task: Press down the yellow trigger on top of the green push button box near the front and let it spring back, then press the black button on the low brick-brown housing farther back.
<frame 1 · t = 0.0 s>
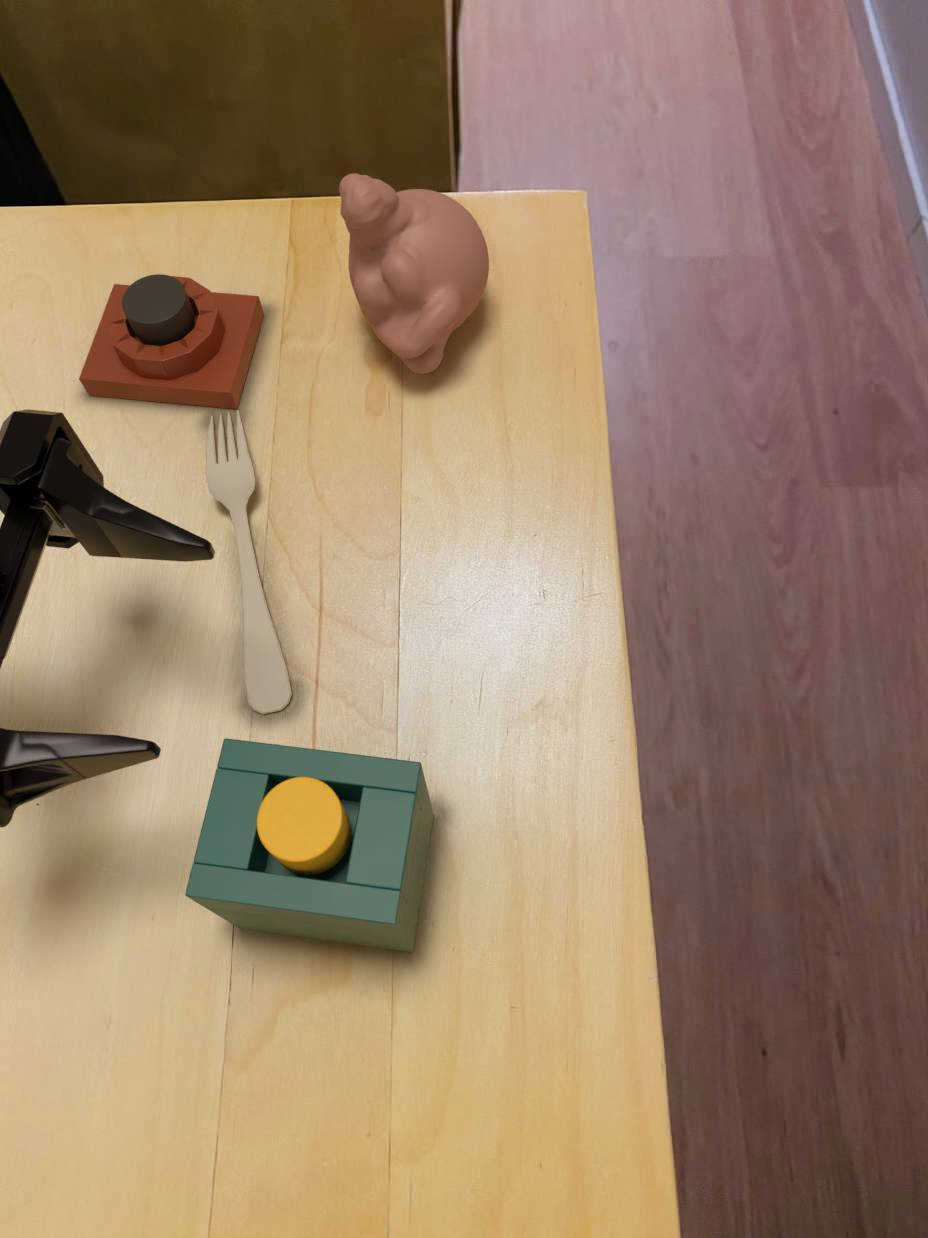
hand: (185, 645, 42), 14 cm above the table, tool horizontal, fingers open, 9 cm apart
fork: (248, 553, 60), on the table
trigger: (305, 826, 43), point 10 cm above the table, slide at 0.1 cm
figurine: (424, 329, 67), on the table
far button: (158, 309, 62), point 4 cm above the table, slide at 0.1 cm
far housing: (178, 353, 66), on the table
green push button box: (305, 827, 43), on the table
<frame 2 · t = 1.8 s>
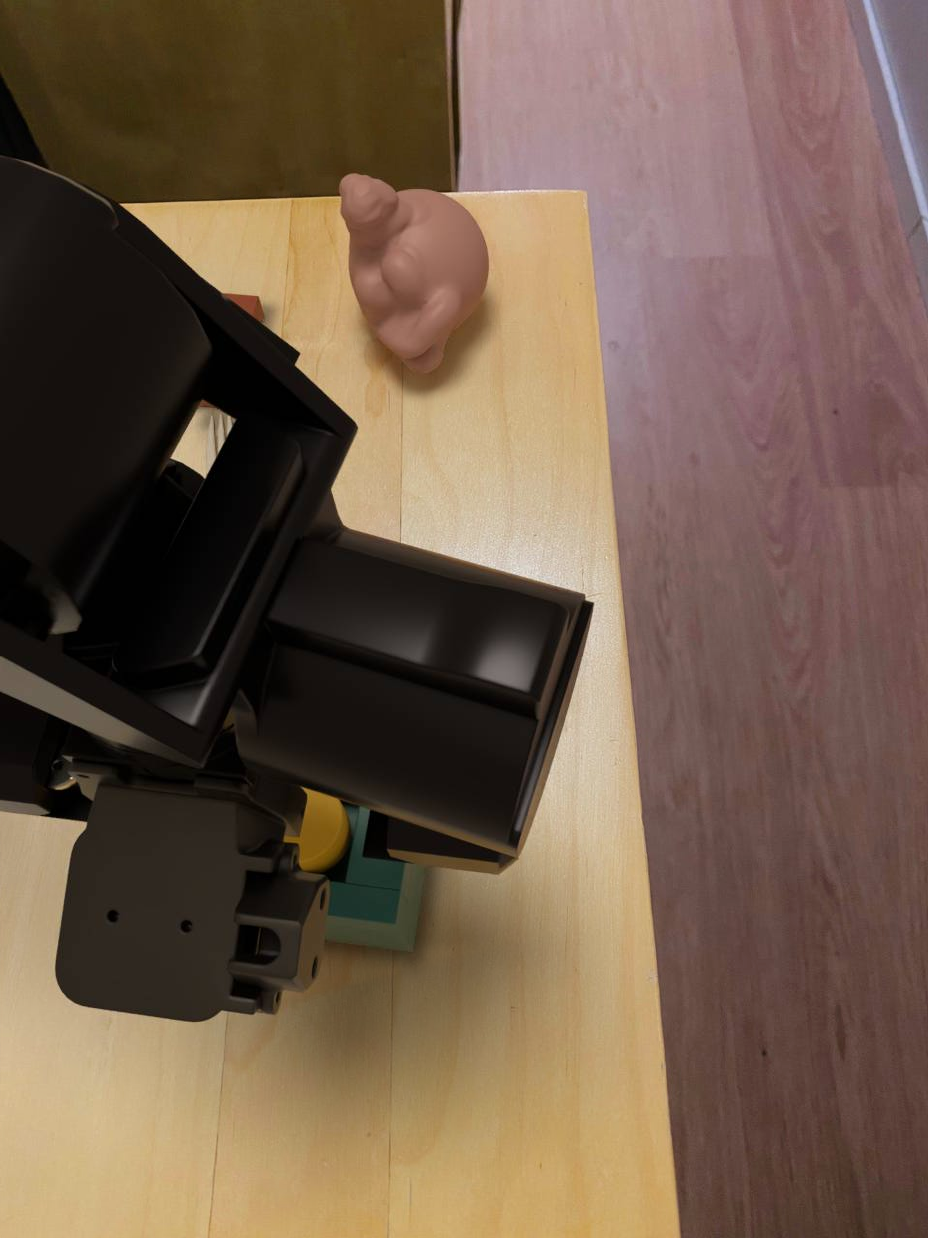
hand: (289, 804, 39), 13 cm above the table, tool pointing down, fingers open, 7 cm apart
nothing on the table moved.
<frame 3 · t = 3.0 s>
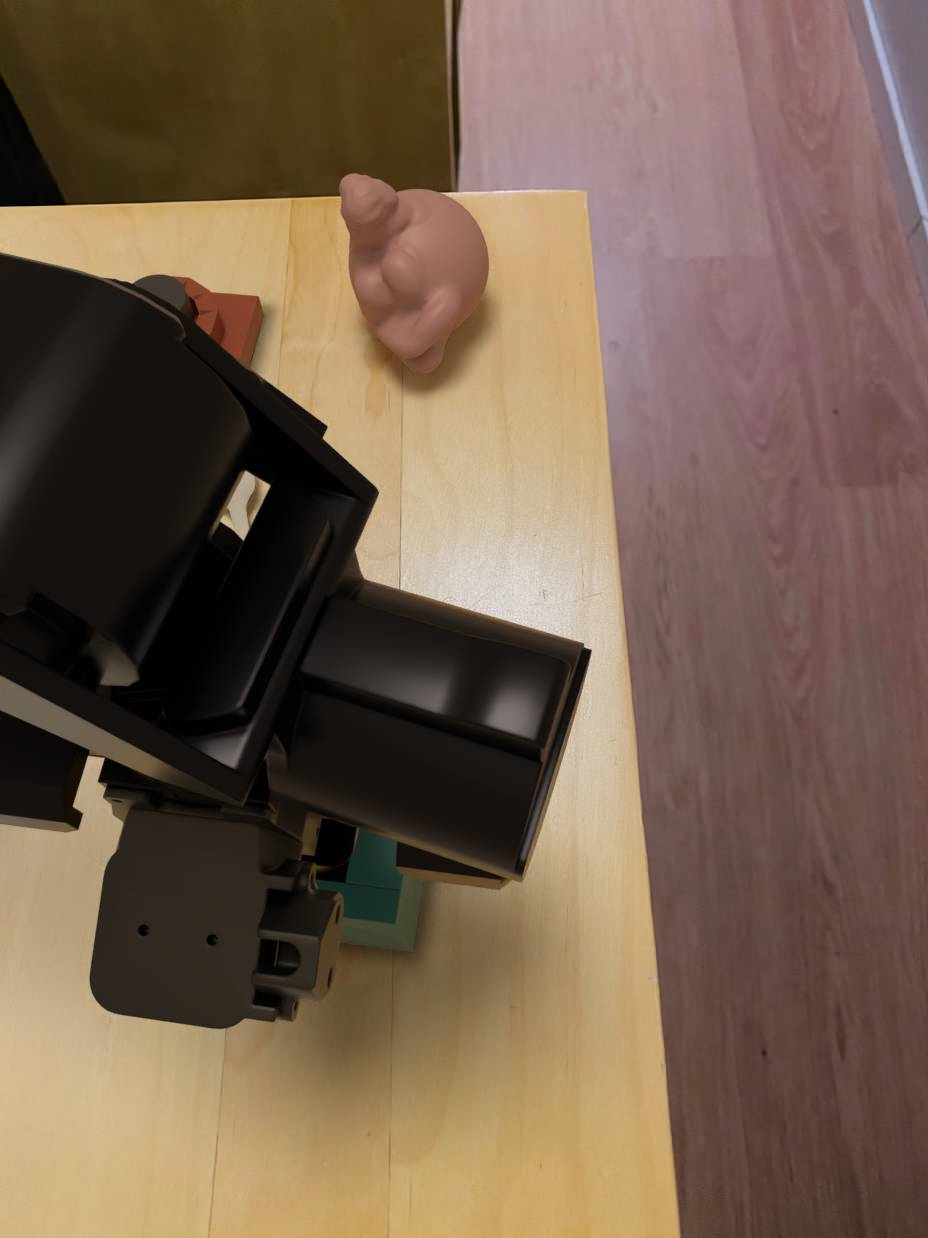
hand: (299, 818, 42), 11 cm above the table, tool pointing down, fingers closed, pressing on trigger
trigger: (306, 827, 43), point 9 cm above the table, slide at -0.1 cm, touching gripper
everything else where it was.
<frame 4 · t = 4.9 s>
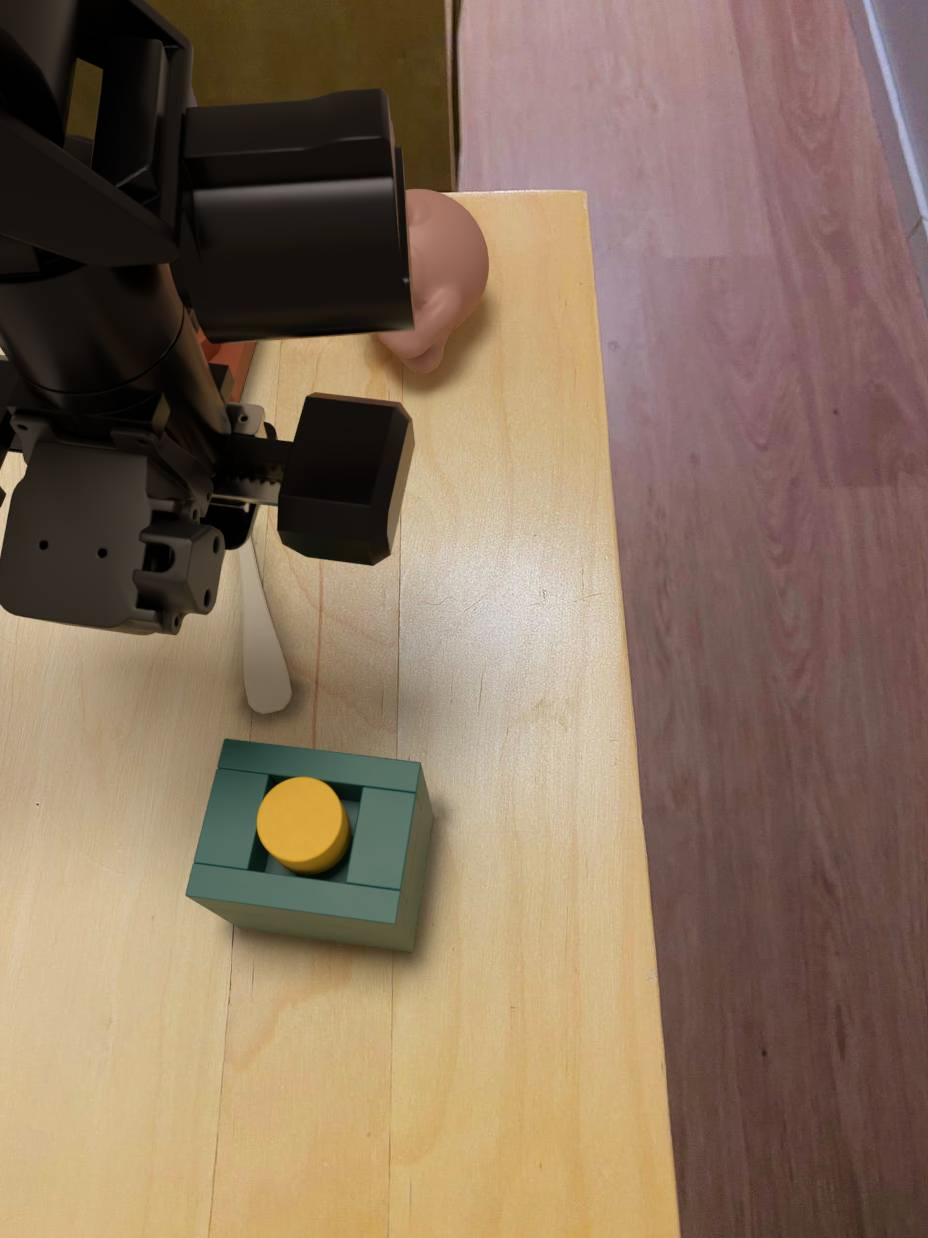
hand: (215, 558, 46), 12 cm above the table, tool pointing down, fingers closed
trigger: (305, 826, 43), point 10 cm above the table, slide at 0.1 cm
everything else where it was.
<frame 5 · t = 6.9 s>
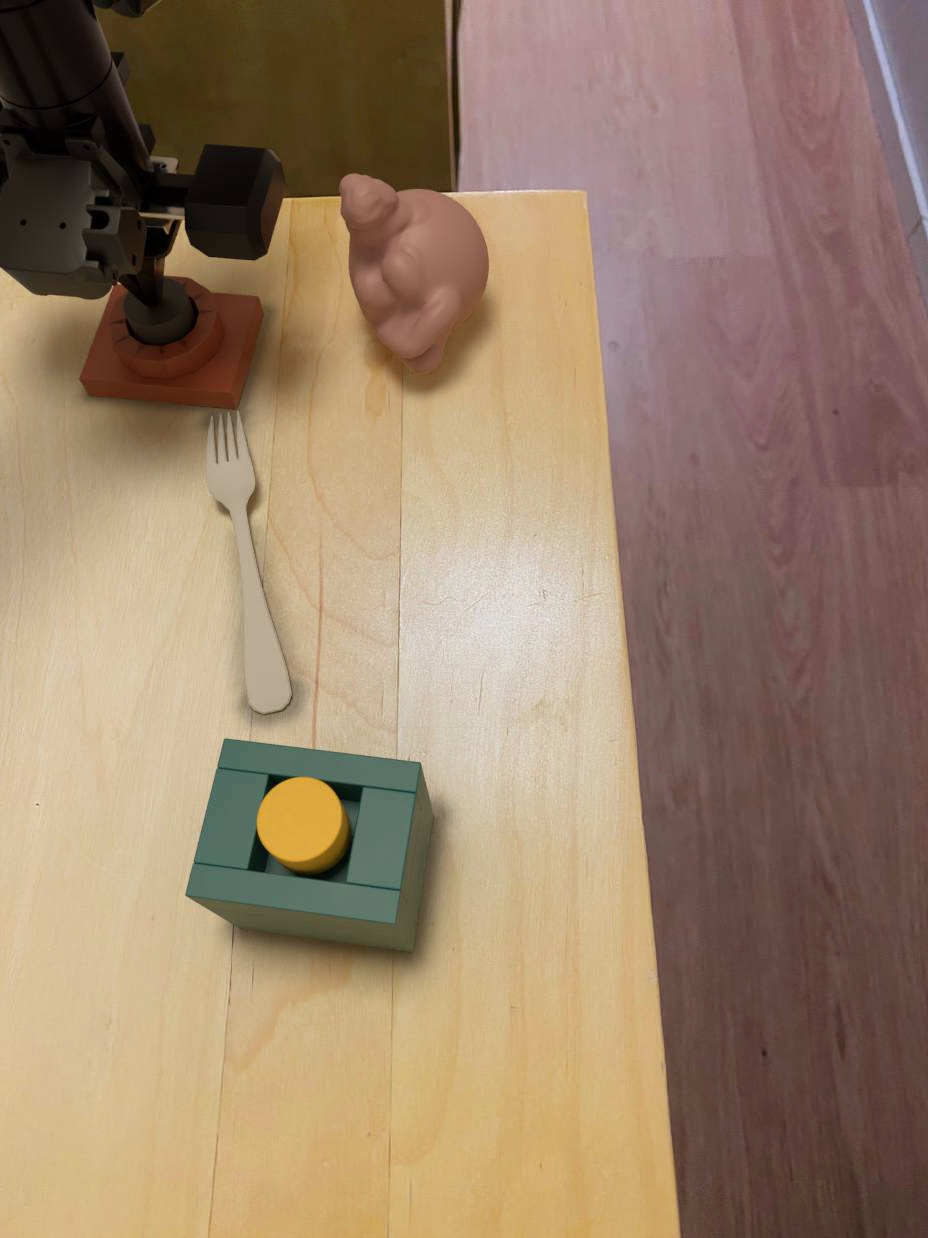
hand: (154, 301, 62), 5 cm above the table, tool pointing down, fingers closed, pressing on far button
far button: (159, 312, 63), point 4 cm above the table, slide at -0.1 cm, touching gripper
everything else where it was.
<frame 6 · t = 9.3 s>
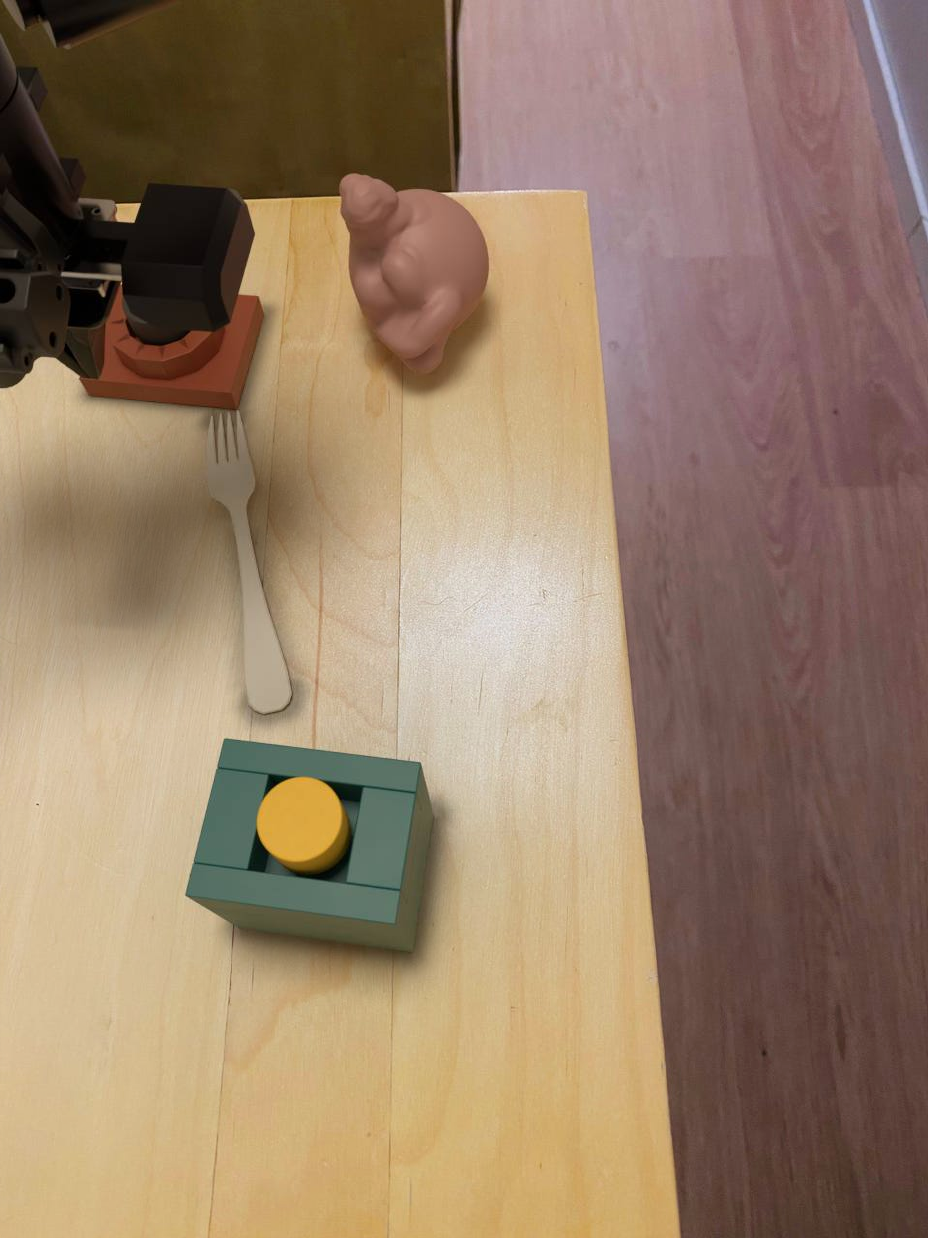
hand: (94, 372, 50), 12 cm above the table, tool pointing down, fingers closed
far button: (158, 309, 62), point 4 cm above the table, slide at 0.1 cm
everything else where it was.
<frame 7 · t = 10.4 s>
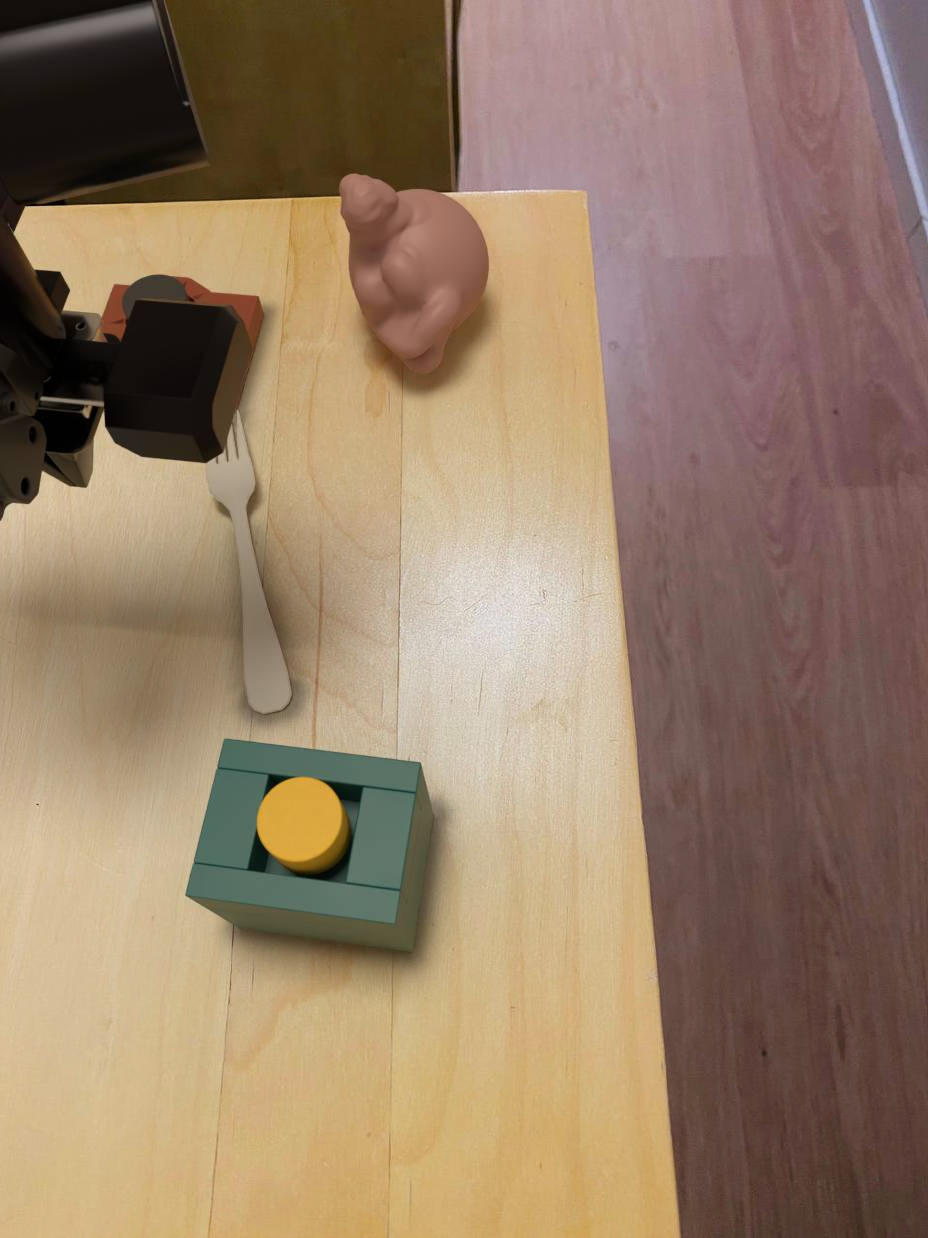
hand: (82, 479, 47), 13 cm above the table, tool pointing down, fingers closed
nothing on the table moved.
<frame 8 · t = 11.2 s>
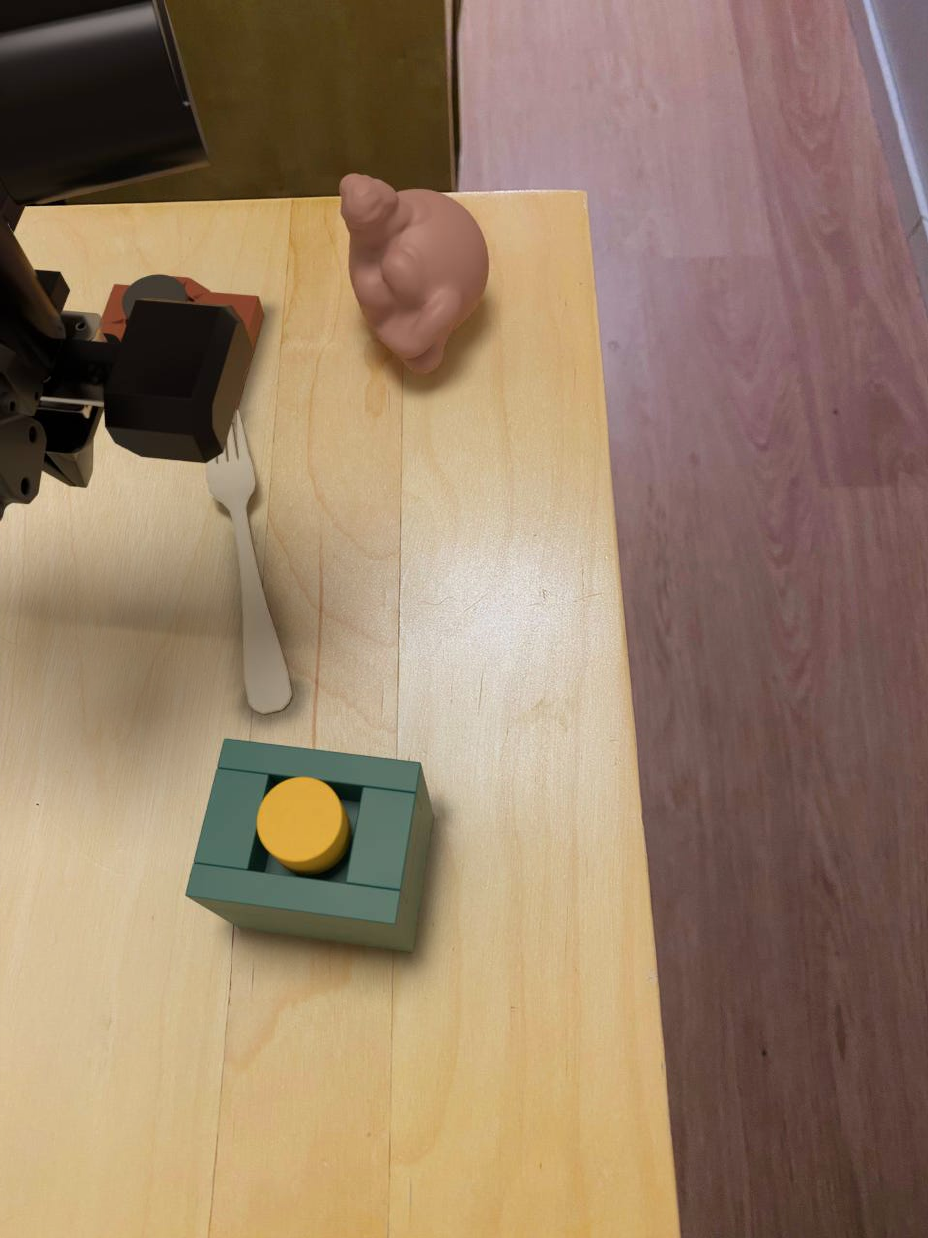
hand: (82, 479, 47), 13 cm above the table, tool pointing down, fingers closed
nothing on the table moved.
at the end: trigger pushed in 1.0 cm at the most during the clip, back to where it started at the end; far button pushed in 1.1 cm at the most during the clip, back to where it started at the end; far button slide at 0.1 cm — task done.
